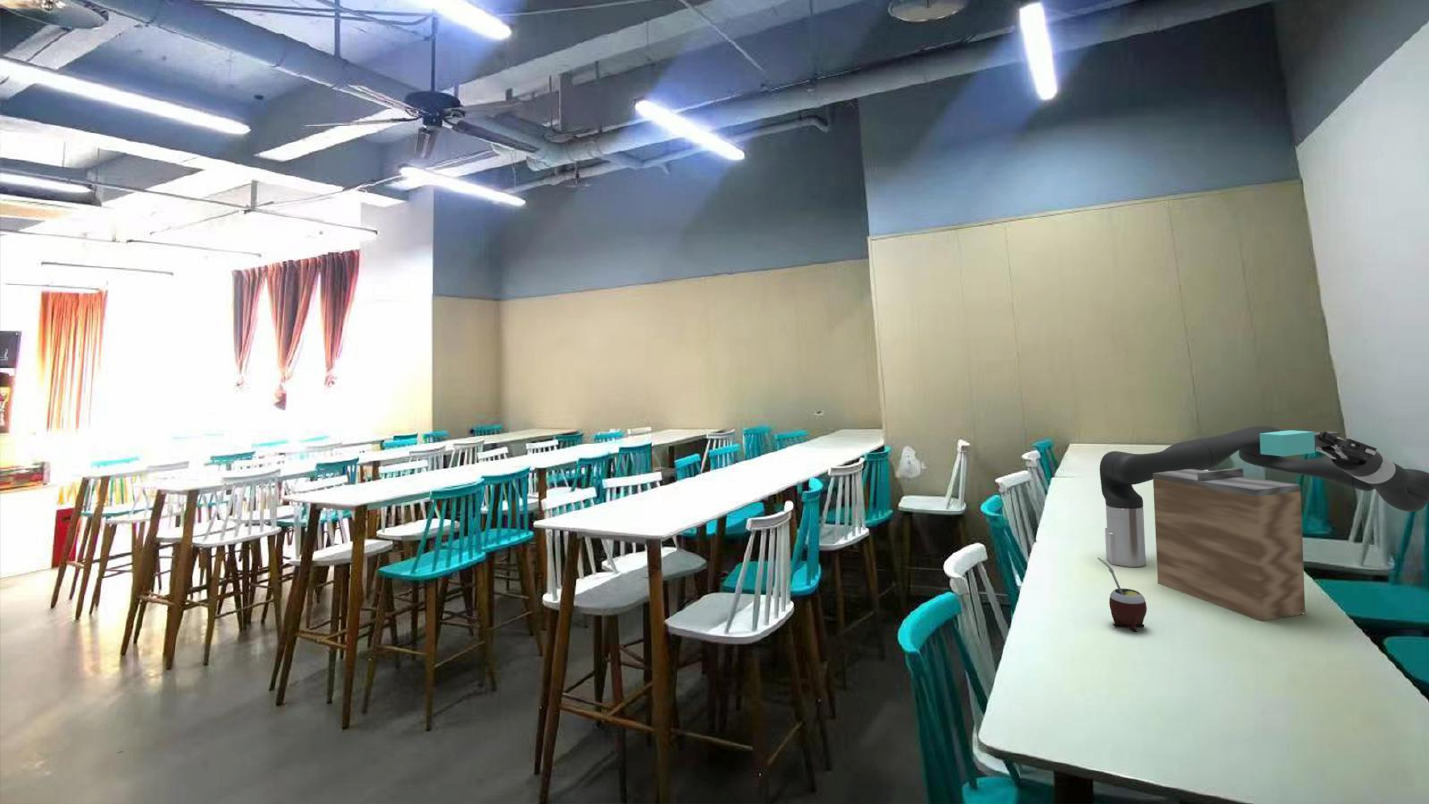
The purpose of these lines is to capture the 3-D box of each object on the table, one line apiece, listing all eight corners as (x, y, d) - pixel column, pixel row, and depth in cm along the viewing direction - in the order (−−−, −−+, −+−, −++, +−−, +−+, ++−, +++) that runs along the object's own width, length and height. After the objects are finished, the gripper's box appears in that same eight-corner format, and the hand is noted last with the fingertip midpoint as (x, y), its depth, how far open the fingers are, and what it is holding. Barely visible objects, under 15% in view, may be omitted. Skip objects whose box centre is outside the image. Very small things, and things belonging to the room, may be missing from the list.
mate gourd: (1154, 633, 131) (1151, 567, 130) (1114, 632, 132) (1111, 567, 132) (1136, 619, 138) (1134, 556, 138) (1099, 619, 140) (1096, 557, 139)
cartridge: (1321, 447, 145) (1320, 426, 145) (1345, 449, 140) (1345, 428, 140) (1260, 453, 143) (1259, 433, 142) (1283, 456, 138) (1282, 435, 137)
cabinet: (1198, 577, 160) (1193, 461, 159) (1307, 613, 135) (1302, 475, 133) (1157, 583, 158) (1152, 465, 157) (1260, 621, 133) (1255, 481, 132)
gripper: (1334, 446, 152) (1285, 418, 149) (1406, 452, 138) (1354, 421, 135) (1324, 473, 151) (1274, 445, 149) (1395, 481, 137) (1341, 451, 135)
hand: (1312, 434), depth 142 cm, fingers closed on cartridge, 3 cm apart
